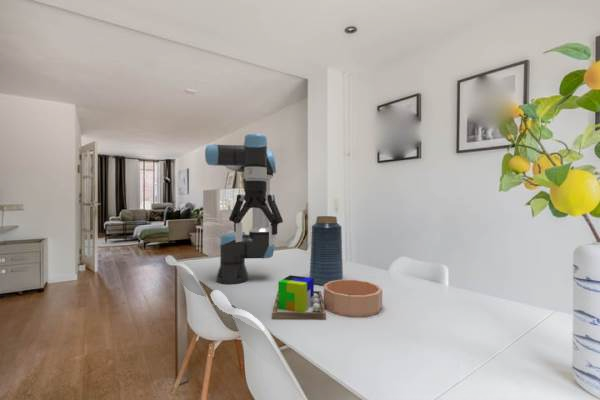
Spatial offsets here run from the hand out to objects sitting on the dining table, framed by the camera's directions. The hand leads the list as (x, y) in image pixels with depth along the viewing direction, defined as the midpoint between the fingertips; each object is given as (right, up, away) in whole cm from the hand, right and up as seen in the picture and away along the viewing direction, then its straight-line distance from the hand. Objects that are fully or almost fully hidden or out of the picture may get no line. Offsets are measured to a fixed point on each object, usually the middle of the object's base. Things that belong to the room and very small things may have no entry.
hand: (255, 243), depth 101 cm
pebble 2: (+21, -25, +11) cm, 35 cm away
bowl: (+35, -25, +12) cm, 45 cm away
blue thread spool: (+28, -25, +45) cm, 59 cm away
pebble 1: (+21, -25, +17) cm, 37 cm away
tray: (+15, -25, +11) cm, 31 cm away
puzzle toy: (+14, -26, +11) cm, 31 cm away
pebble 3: (+21, -25, +6) cm, 33 cm away
